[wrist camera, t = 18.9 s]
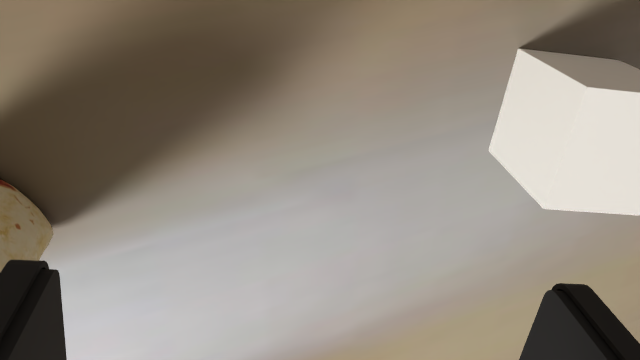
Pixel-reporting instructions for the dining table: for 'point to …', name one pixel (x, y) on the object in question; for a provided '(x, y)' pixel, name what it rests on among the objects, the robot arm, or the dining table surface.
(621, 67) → the off-white matte cube
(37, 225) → the food model
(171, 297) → the dining table surface
